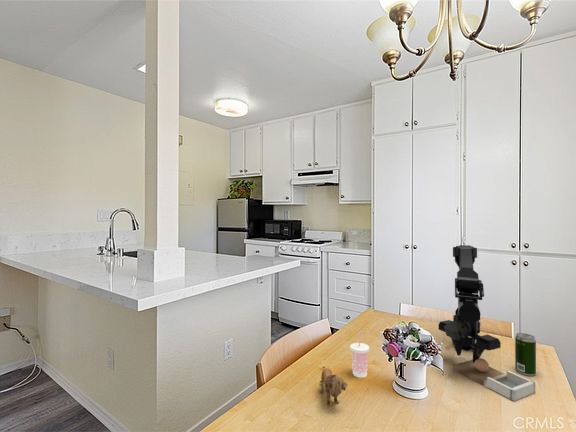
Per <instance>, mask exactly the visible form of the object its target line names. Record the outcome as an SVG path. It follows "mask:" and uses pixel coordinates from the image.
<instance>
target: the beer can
mask: <svg viewBox="0 0 576 432" xmlns="http://www.w3.org/2000/svg"><path fill="white" fill-rule="evenodd" d="M514 342H515V343H514V346H515V347H514V348H515V349H514V350H515V351H514V356H515V357H514V359H515V360H514V362H515V363H514V364H515V365H514V366H515V370H516V373H519V374H521V375H523V376H525V377H526V376H527V377H534V376H536V374H537V341H536V337H535V336H534V335H532V334H529V333H523V332H516V333H515V336H514Z"/></svg>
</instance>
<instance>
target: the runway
mask: <svg viewBox="0 0 576 432" xmlns="http://www.w3.org/2000/svg"><path fill="white" fill-rule="evenodd" d="M452 370H453V371H455V372H457V373H459V374H461V376H462V375H463V376H465V377H467V378H468V379H470V380H472V381H473V382H476V383H478V384H480V385H482V386H483V387H485V388H487V377H490V378H492V379H494V380H496V381H498V382H502V381H505V380H507V373H504V372H502V371H500V370H497V369H495V368H493V367H491V366H489V369H488V371H486V372H481V371H479V370H477V369H476V367H475V365H474V363H473V359H470V360H466V361H462V362H459V363H456V364H453V365H452Z"/></svg>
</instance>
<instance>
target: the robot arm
mask: <svg viewBox="0 0 576 432" xmlns="http://www.w3.org/2000/svg"><path fill="white" fill-rule="evenodd" d="M452 258H454V263H455V264H456V265H457V267H458V271H457V272H456V277H454V298H458V299H457V308H456V310H455V312H454V314H453V316H452V317H453V320H450V319H447V320H442V321H440V322H438V330H439V331H441V332H444V333H445V335H446V337H448V338H450V339H451V341H452V345H453V347H454V350H455V352H456V355H457V357H458V356H461V355H462V351H463V350H465V351H467V352H469V351H472V360H473V363H474V362H475V360H476V359H478V358H481V356H482V354H483V352H484V351H485V350H486V351H493V350H497V349H500V348H501V347H502V346H501V345H502V344H501V340H500V339H499V338H497V337H495V336H492V335H490V334H485V335H481V310H480V308H479V301H483V298H484V297H485V290H484V289H485V288H484V283H483V282H482V280H481V279H479V273H477V272H476V271H475V270H474V264H475V262H476V259H477V258H478V248H477V247H474V246H472V245H469V244H464V245H463V244H460V245H456V246H453V247H452Z"/></svg>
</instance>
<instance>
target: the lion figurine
mask: <svg viewBox="0 0 576 432" xmlns="http://www.w3.org/2000/svg"><path fill="white" fill-rule="evenodd" d="M320 379H321V380H320V381H319V383H321V385H320V391H319V393H320V394H324V393H325V397H326V404H325V405H326V406H327V407H331V405H332V403H331V398H330V397H332V398H333V402H334V404H336V405H339V404H340V401H339V400H338V396H340V395H341V394H342V392H345V391H346V390H347V388H348V385H349V384H348V383H347V382H345V380H344V379H342V375H340V374H337V373H336V374H333V371H332V370H331V368H328V367H325V368H323V369H322V372H321V378H320ZM324 387H325V391H324Z"/></svg>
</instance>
